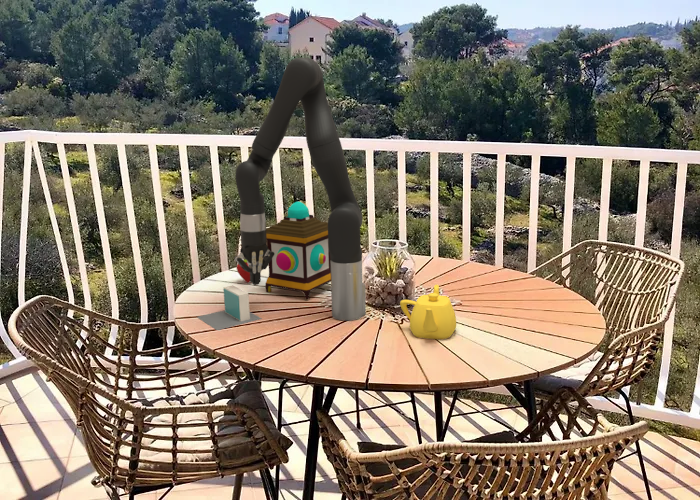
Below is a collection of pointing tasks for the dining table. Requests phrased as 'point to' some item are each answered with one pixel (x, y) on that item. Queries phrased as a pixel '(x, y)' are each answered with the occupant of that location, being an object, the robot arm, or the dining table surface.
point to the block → (236, 303)
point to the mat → (224, 320)
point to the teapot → (431, 316)
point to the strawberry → (244, 272)
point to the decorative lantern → (298, 252)
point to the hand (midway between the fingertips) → (255, 284)
